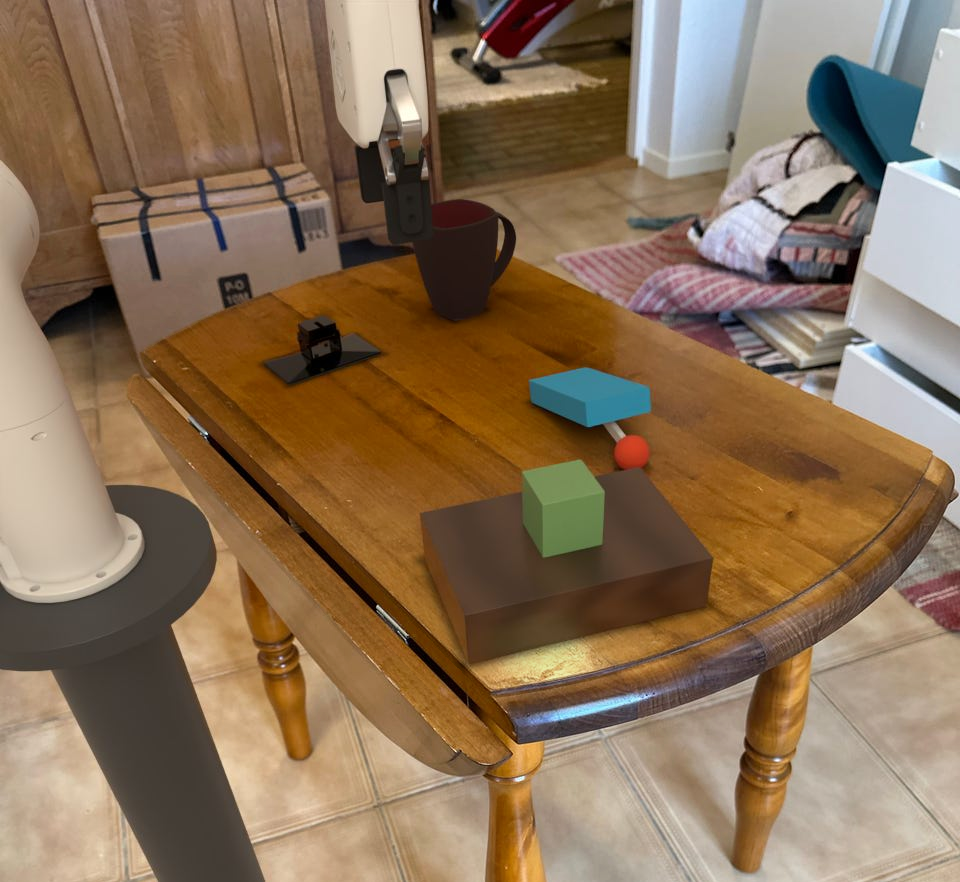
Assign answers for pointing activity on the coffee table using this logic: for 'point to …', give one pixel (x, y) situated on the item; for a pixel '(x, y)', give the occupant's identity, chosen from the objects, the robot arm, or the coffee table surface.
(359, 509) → the coffee table surface
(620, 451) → the lever
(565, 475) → the green toy block
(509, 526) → the block
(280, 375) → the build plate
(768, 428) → the coffee table surface
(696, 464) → the coffee table surface
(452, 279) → the cup
